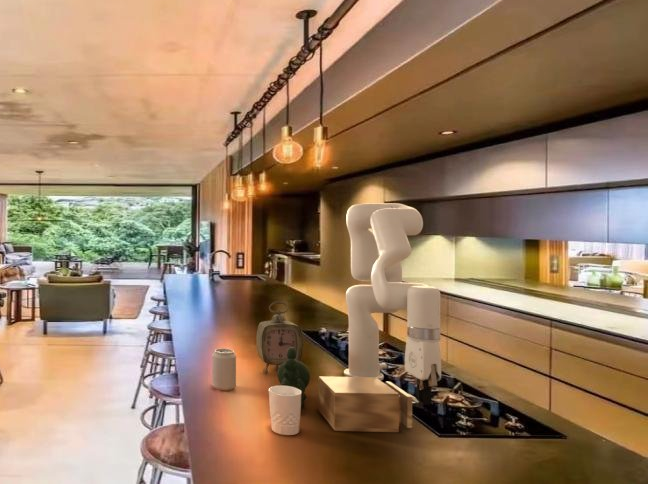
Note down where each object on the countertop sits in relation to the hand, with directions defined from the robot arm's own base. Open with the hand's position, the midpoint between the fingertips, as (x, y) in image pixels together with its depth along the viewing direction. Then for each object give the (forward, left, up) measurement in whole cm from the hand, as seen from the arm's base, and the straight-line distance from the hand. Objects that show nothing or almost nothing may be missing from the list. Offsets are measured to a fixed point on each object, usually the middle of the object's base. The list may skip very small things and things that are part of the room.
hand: (423, 403), depth 125 cm
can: (+30, -47, -5) cm, 56 cm away
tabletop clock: (+2, -53, -5) cm, 53 cm away
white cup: (+36, -13, -5) cm, 38 cm away
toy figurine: (+20, -27, -5) cm, 34 cm away
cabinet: (+15, -9, -5) cm, 18 cm away
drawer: (+9, -6, -4) cm, 12 cm away
